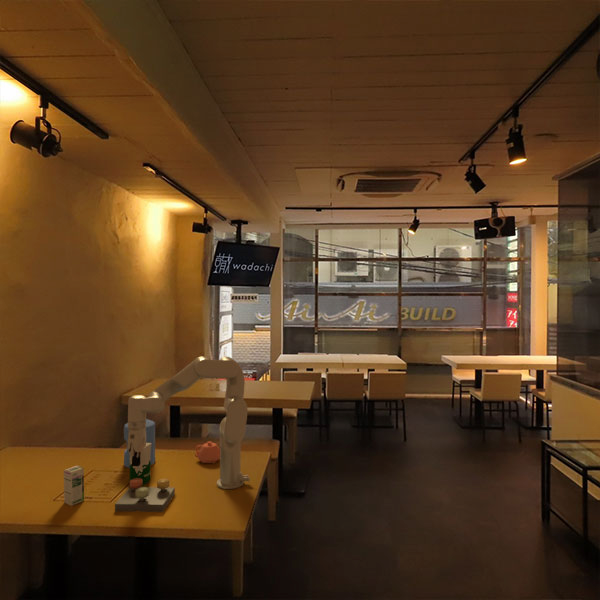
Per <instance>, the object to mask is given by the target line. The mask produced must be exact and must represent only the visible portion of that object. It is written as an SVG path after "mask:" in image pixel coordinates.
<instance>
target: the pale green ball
mask: <svg viewBox="0 0 600 600" xmlns="http://www.w3.org/2000/svg"><path fill="white" fill-rule="evenodd" d="M147 487H148V486H142V487H141V488H138V489H136V498H140V502H144V498H145V497H147V496H148V495H149V489H148V488H147Z"/></svg>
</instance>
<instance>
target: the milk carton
mask: <svg viewBox="0 0 600 600" xmlns="http://www.w3.org/2000/svg"><path fill="white" fill-rule="evenodd" d="M151 444H152V443H147V442H146V446H145V447H144V448H143V449H142V450H141V455H140V456H141V458H140V465H139V466H132V456H130V468H129V481H128V486H130V480H132V479H135V478H141V479H142V480H143V485H142V487H145V485H146V484H147V483H149V482H150V481H151V465H150V453H151ZM129 454H130V452H129Z"/></svg>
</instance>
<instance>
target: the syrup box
mask: <svg viewBox="0 0 600 600" xmlns="http://www.w3.org/2000/svg"><path fill="white" fill-rule="evenodd" d="M84 475H85V472H84V467H82V466H80V465H74V466H72V467H69V468H67V469H64V470H63V498H64V499H63V500H64V503H65V504H66V505H69V506H70V505H71V507H74V505H77V504H79V503H82V502H84V501H85V476H84Z"/></svg>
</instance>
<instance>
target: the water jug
mask: <svg viewBox="0 0 600 600" xmlns="http://www.w3.org/2000/svg"><path fill="white" fill-rule="evenodd" d="M128 434H129V429H128V422H127V423H125V424H124V426H123V439H124V440H125V442H126V449H125V450H124V451H123V465H124V467H125V468H127V469H130V454H129V452H128ZM146 442H147V443H152V444H151V453H150V466H152V465H154V463H156V423H155V421H154V420H151V419H148V418H146Z"/></svg>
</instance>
